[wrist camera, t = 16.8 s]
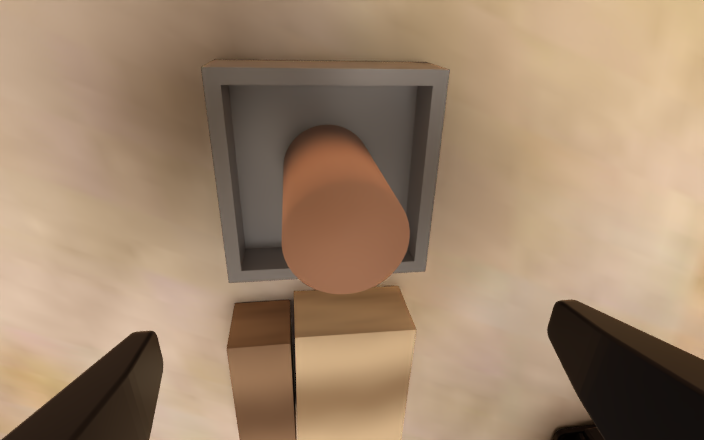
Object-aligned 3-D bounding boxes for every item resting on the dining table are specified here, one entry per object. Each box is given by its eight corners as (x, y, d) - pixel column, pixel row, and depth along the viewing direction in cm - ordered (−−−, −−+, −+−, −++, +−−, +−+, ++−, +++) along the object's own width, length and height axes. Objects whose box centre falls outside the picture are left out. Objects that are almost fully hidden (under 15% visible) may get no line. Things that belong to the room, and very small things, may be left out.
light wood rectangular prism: (385, 393, 28) (399, 447, 24) (296, 401, 27) (298, 459, 24) (397, 283, 24) (416, 329, 20) (293, 288, 23) (294, 337, 20)
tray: (408, 241, 22) (425, 271, 20) (236, 249, 21) (228, 283, 19) (426, 62, 18) (449, 69, 16) (214, 59, 17) (201, 67, 15)
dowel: (368, 206, 20) (404, 290, 14) (285, 208, 20) (284, 298, 13) (371, 124, 18) (415, 179, 12) (281, 124, 18) (278, 182, 12)
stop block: (296, 421, 27) (297, 472, 24) (250, 426, 27) (245, 479, 24) (289, 299, 23) (290, 343, 20) (234, 303, 23) (226, 348, 20)
